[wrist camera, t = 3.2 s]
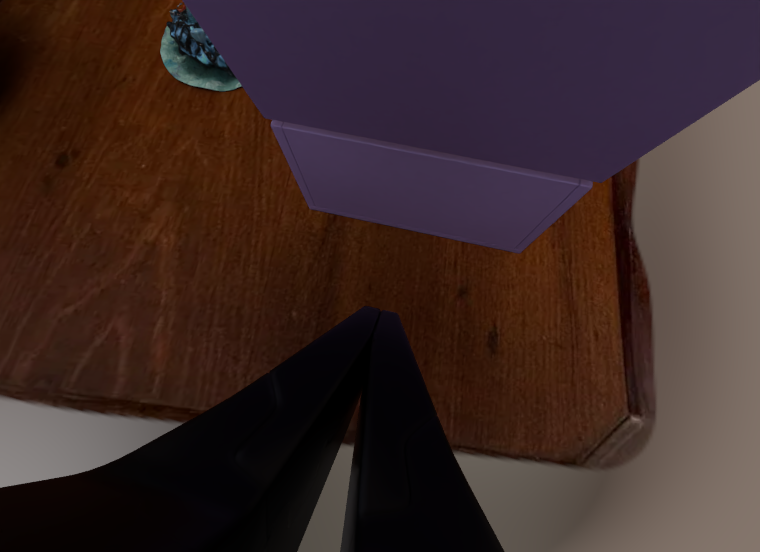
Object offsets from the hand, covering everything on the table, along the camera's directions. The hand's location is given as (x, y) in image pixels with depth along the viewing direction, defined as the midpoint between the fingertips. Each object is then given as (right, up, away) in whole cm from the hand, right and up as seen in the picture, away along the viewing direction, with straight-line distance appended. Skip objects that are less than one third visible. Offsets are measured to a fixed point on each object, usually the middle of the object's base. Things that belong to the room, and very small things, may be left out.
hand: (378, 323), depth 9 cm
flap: (+2, +7, +1) cm, 7 cm away
